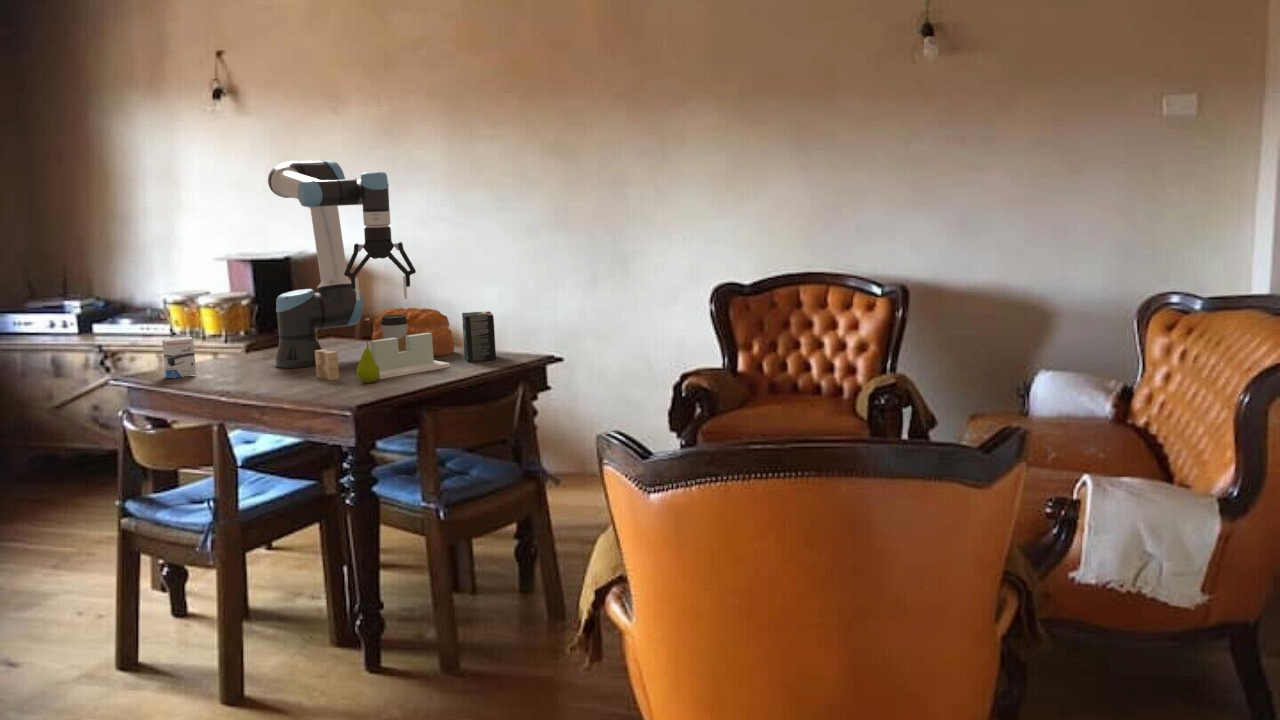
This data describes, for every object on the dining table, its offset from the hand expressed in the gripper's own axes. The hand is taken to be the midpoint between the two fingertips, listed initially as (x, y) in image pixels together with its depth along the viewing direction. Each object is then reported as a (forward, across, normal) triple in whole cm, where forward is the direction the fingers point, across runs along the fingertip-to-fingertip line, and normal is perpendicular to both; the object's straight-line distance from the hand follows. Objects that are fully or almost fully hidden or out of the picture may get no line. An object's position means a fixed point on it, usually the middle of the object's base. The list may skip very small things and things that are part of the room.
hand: (381, 299), depth 322 cm
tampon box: (+23, +28, +21) cm, 42 cm away
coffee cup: (+23, +2, +21) cm, 31 cm away
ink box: (+24, -62, +20) cm, 69 cm away
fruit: (+23, -5, -9) cm, 25 cm away
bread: (+24, +7, +39) cm, 46 cm away
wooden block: (+23, -17, +3) cm, 29 cm away
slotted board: (+23, +5, +8) cm, 25 cm away
